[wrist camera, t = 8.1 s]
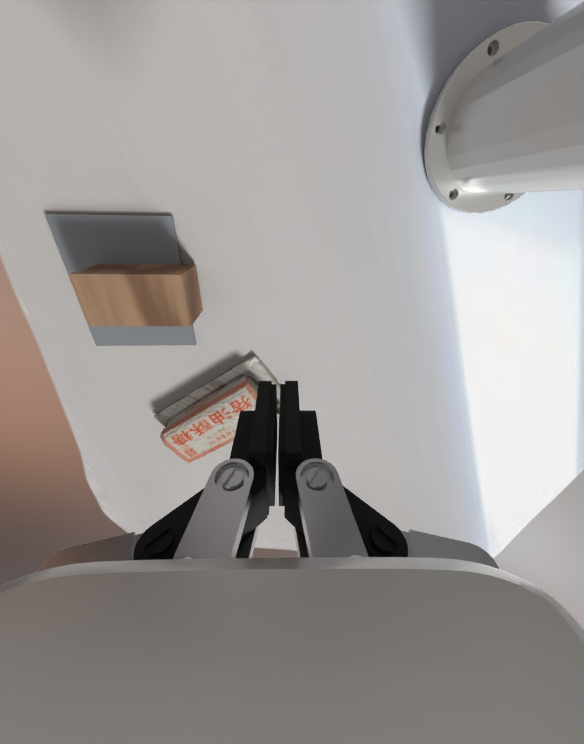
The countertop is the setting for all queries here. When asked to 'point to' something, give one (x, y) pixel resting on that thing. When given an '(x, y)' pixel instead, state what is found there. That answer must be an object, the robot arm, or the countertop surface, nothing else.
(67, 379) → the countertop surface
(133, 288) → the walnut block
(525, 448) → the countertop surface
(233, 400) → the packaged product
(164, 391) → the countertop surface
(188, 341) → the rubber mat
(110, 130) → the countertop surface
